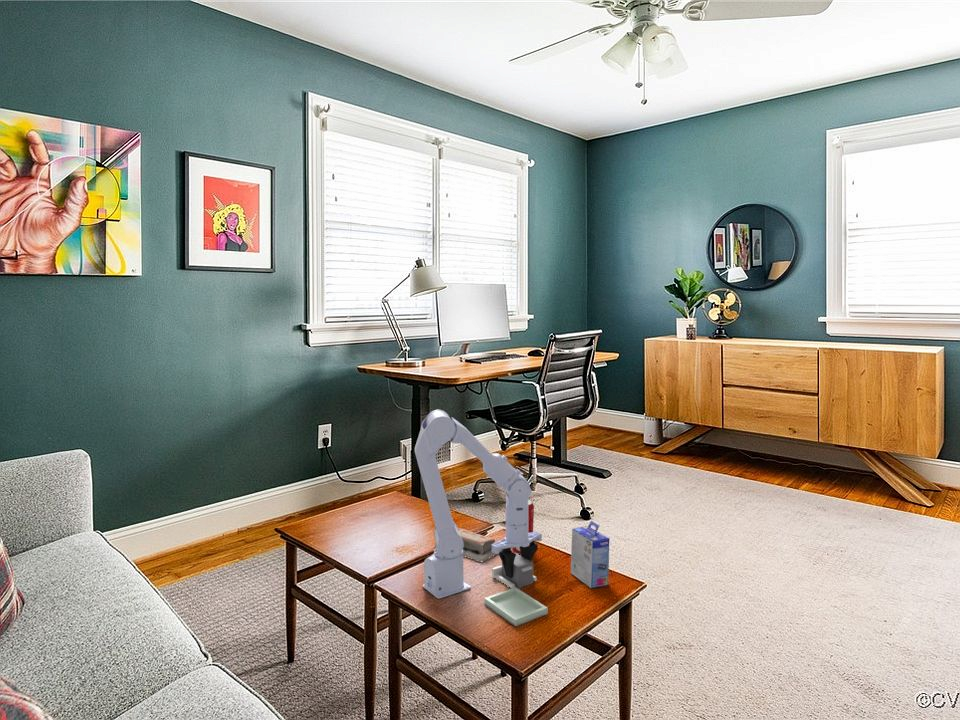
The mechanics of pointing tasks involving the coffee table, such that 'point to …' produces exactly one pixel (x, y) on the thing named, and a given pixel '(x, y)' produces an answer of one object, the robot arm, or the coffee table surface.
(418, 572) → the coffee table surface
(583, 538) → the ink cartridge box
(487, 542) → the packaged product
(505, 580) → the frame
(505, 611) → the tray
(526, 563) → the grey tabbed box
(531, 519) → the beverage can
